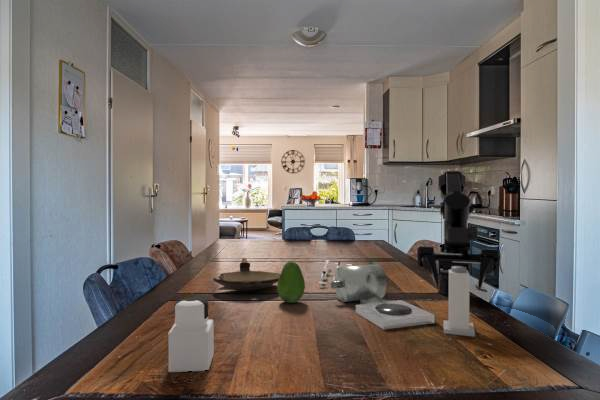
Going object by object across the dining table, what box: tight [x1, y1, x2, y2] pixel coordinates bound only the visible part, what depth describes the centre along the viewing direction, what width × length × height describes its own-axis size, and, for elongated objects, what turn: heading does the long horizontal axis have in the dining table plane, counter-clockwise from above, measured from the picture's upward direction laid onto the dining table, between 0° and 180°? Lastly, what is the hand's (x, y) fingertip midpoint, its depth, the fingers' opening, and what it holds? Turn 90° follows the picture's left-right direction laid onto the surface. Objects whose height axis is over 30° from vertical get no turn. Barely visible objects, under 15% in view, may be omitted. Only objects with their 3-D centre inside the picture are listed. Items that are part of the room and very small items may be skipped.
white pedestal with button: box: [442, 266, 476, 338], centre depth 91 cm, size 6×6×14 cm
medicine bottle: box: [167, 296, 215, 373], centre depth 74 cm, size 7×7×12 cm
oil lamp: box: [212, 257, 281, 292], centre depth 133 cm, size 22×30×8 cm
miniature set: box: [318, 259, 353, 286], centre depth 149 cm, size 6×35×12 cm
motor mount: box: [330, 263, 435, 331], centre depth 108 cm, size 16×30×10 cm, turn 19°
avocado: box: [276, 260, 306, 304], centre depth 115 cm, size 8×8×12 cm
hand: (458, 287), depth 93 cm, fingers open, 9 cm apart
